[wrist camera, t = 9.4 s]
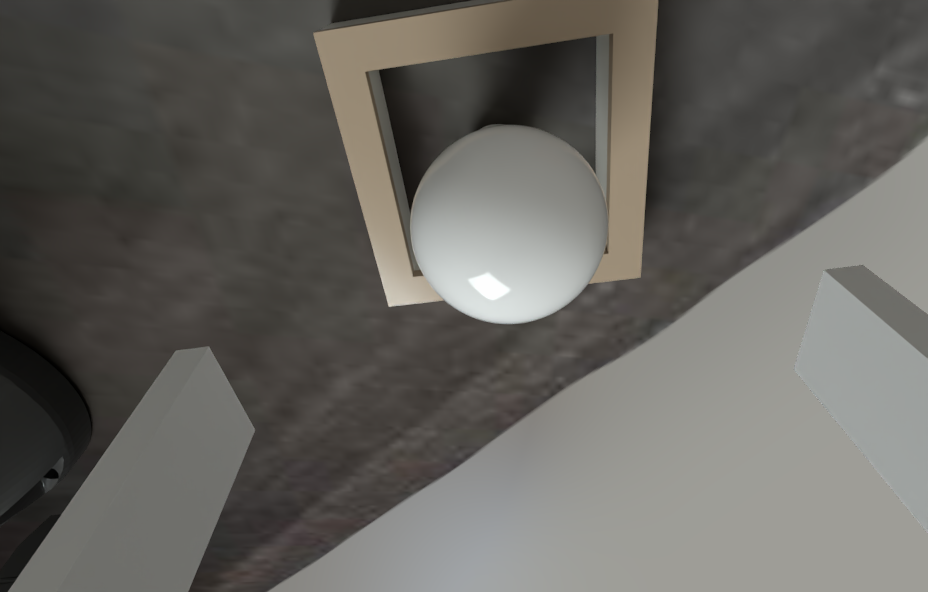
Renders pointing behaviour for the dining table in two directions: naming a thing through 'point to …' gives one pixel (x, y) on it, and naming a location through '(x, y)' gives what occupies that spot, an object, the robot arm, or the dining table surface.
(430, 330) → the dining table surface
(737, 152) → the dining table surface
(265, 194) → the dining table surface
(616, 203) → the square frame
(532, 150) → the lightbulb
